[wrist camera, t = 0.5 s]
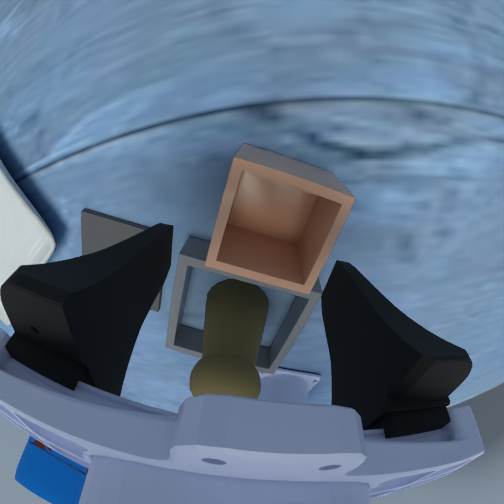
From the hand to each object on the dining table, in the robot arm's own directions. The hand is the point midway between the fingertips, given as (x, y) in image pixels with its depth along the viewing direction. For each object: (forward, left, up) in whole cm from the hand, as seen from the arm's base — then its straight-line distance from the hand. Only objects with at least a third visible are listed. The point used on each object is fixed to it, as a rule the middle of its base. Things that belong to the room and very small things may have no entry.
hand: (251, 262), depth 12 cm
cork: (-11, -1, -11) cm, 16 cm away
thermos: (-40, +19, -11) cm, 46 cm away
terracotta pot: (0, -1, -10) cm, 10 cm away
